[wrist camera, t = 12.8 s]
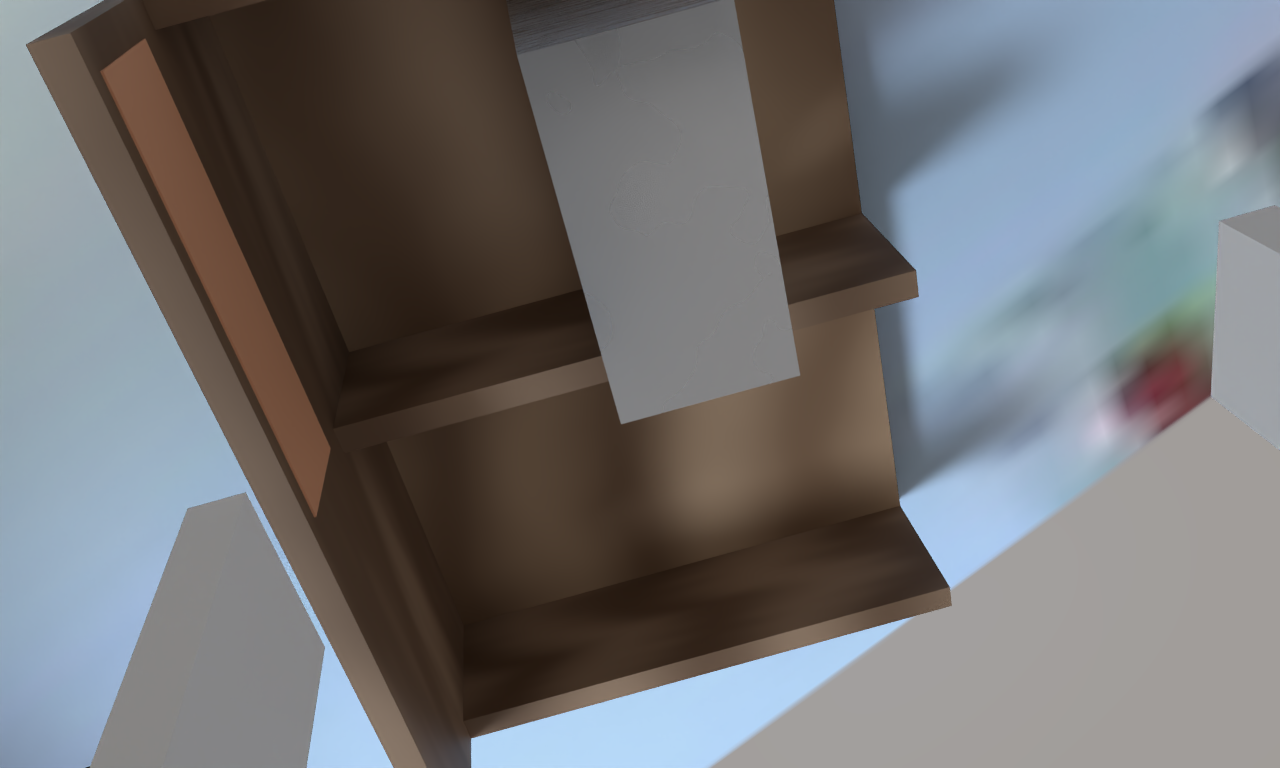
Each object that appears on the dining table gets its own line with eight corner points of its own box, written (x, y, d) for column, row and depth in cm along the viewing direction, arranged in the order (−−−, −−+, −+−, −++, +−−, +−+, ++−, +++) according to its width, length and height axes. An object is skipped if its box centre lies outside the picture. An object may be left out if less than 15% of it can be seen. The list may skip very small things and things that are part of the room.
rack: (447, 629, 39) (442, 867, 30) (163, -34, 27) (23, 45, 19) (892, 507, 39) (1013, 709, 31) (797, -203, 28) (947, -202, 19)
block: (578, 252, 32) (620, 424, 23) (501, -26, 28) (516, 55, 19) (708, 216, 32) (800, 375, 23) (650, -66, 28) (733, -3, 19)
